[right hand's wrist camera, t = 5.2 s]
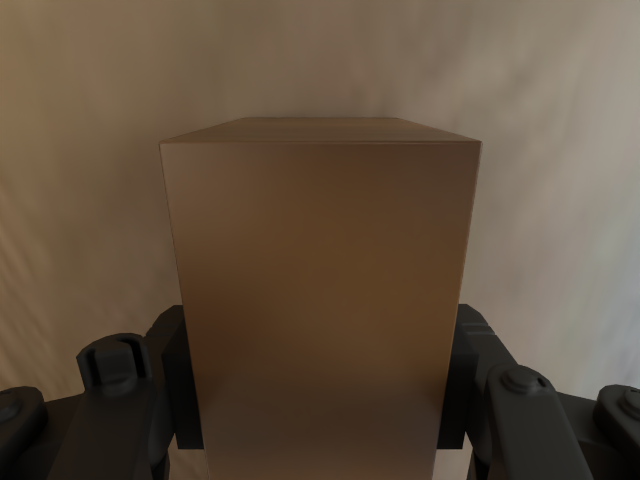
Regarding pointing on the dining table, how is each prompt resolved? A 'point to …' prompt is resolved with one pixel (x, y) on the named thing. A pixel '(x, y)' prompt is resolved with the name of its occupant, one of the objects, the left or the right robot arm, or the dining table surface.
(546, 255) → the dining table surface
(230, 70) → the dining table surface
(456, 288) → the beam
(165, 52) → the dining table surface
